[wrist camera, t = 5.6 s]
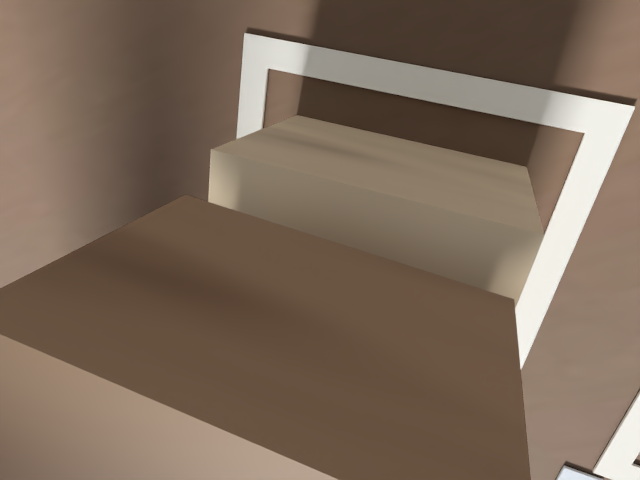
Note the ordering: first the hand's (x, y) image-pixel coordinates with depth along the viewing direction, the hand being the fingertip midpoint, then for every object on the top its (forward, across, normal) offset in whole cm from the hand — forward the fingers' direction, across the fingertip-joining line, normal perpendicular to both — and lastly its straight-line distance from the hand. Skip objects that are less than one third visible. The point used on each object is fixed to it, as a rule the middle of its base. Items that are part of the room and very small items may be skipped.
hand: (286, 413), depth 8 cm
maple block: (+8, 0, 0) cm, 8 cm away
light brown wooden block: (+1, 0, 0) cm, 1 cm away
